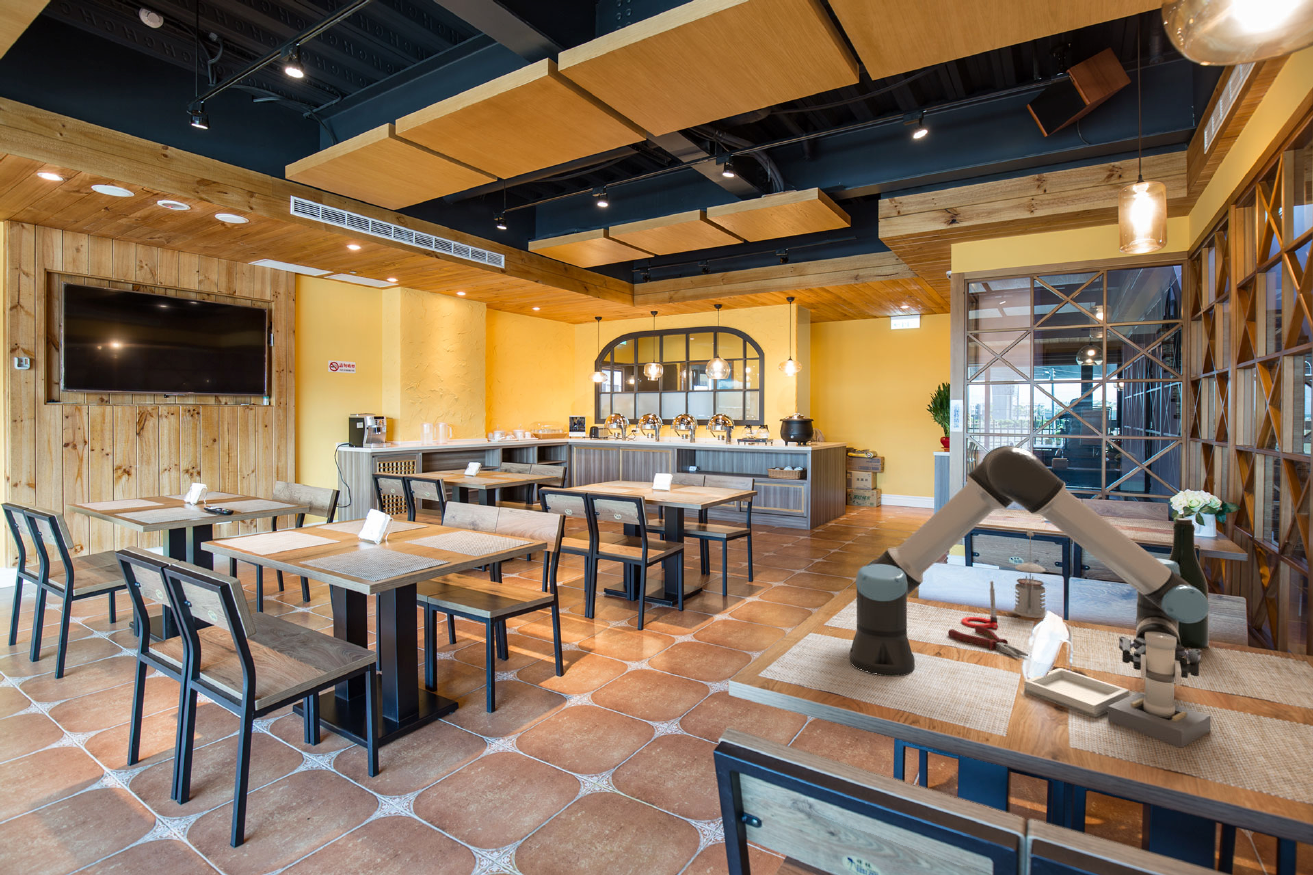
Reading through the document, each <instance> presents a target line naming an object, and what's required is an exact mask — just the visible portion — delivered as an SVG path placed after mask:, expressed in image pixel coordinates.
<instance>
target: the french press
mask: <svg viewBox="0 0 1313 875" xmlns="http://www.w3.org/2000/svg"><path fill="white" fill-rule="evenodd" d="M1026 536H1027V537H1029V562H1027V563H1026V562H1023V563H1019V564H1017V565H1016V566H1015V567H1014V568H1015V570H1016V571H1018V572H1022V573H1029V578H1028V576H1027V575H1025V578H1018V579H1016V582H1017V583H1016V584H1015V586H1014V588H1015V591H1014V593H1015V595H1014V596H1015V597H1014V598H1015V600H1014V602H1015V604H1014V608H1012V610H1011V612H1012V613H1013V614H1015V615H1018V616H1021V617H1027V618H1034V619H1043V618H1046V617H1045V614H1046V613H1047V612H1046V607H1045V606H1046V602H1045V601H1046V594H1045V593H1046V588H1045V587H1044V586H1043V585H1044V584H1045V583H1044V582H1043V581H1041V580H1038V579H1034V576H1031V575H1032V574H1040V573H1044V572H1045V571H1046V569H1045V568H1044V567H1042V566H1041V565H1039V564H1036V563H1032V562H1031V560H1032V552H1031V551H1032V546H1031V543H1032V540H1031V538H1032V537H1034V536H1035V534H1034V533H1033V532H1032V531H1027V533H1026Z"/></svg>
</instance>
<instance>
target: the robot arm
mask: <svg viewBox="0 0 1313 875" xmlns="http://www.w3.org/2000/svg"><path fill="white" fill-rule="evenodd" d="M966 480H967V482H966V484H965V486H964V487H962V488H961V489H960V490H959V491H958V492H957V493H956V494H955V495H953V496H952V497H951V499H950V500H948V501H947V502H946V503H945V504H944V505H943V506H942V507H940V508H939V509H938V510H937V511H936V512H935V514H933V515H932V516H931V517H930V518H929V519H928V520H926V521H925V523H924V524H922V525H921V526H920V527H919V528H918V529H917V530H916V531H915V532H914V533H912V534H911V535H910V536H909V537H908V538H907V539H906V540H904V542H903V543H902V544H901V545H899V546H898V547H896V548H894V547H892V548H891V547H889V548H887V549H886V550H885V551H884V552H883V553H882V554H881V555H879V557H877V558H876V559H874V560H872V561H870V562H869V563H868V564H867V565H864V566H862V567H860V568H859V569H858V570H857V572H856V579H855V586H856V632H855V634H854V637H853V640H852V643H851V647H850V649H849V659H850V661H849V663H850V662H851V663H852V664H853V665H854V666H855V667H857V668H859V669H862V670H864V671H868V672H870V673H869V674H872V673H877V674H881V675H880V676H884V675H899V676H905V675H908V674H907V673H909V674H910V672H911V673H913V672H914V671H915V668H916V666H915V656H914V654H913V652H912V648H911V645H910V642H909V638H908V633H907V632H908V630H907V629H908V615H907V614H908V597H909V595H910V594H911V593H912V592H913V591H914V590H915V589H917V588H918V587H919V586H920V585H921V584H922V583H923V582H924V580H923V579H924V573H925V572H926V571H928V570H929V568H931V566H933V565H934V564H935V563H937V561H938V560H940V558H942V557H943V556H944V555H945V554H946V553H948V552H949V550H951V549H952V548H953V547H954V546H955V545H956V544H958V543H959V542H960V541H961V540H962V539H964V537H965V536H967V535H968V534H969V533H970V532H971V531H972V530H973V529H974V528H976V527H977V525H978V524H980V523H981V522H982V521H984V519H985V518H987V517H988V516H989V515H990V514H992V512H994V511H995V510H1006V509H1007V508H1008V507H1009V506H1010V505H1012V504H1013V503H1016V504H1018V505H1019V506H1020V507H1022V508H1024V509H1025V510H1026V511H1028V512H1029V513H1030V514H1032V515H1040V516H1042V517H1043V518H1044V519H1045V520H1047V521H1048V522H1049V523H1051V524H1052V525H1053V526H1054V527H1056V528H1057V529H1058V530H1059V531H1061V532H1062V533H1063V534H1065V535H1066V536H1067V537H1068V538H1070V539H1071V540H1072V541H1073V542H1074V543H1076V544H1077V545H1079V546H1080V547H1081V548H1082V549H1084V550H1085V551H1086V552H1088V554H1090V555H1092V556H1093V557H1094V558H1095V559H1096V560H1098V561H1099V562H1100V563H1102V565H1104V566H1105V567H1106V568H1108V569H1109V570H1111V571H1112V572H1113V573H1114V574H1116V575H1117V576H1118V577H1120V578H1121V579H1122V580H1123V581H1125V582H1126V583H1127V584H1128V585H1130V587H1132V588H1134V589H1135V590H1136V593H1137V594H1136V595H1137V596H1136V600H1137V602H1136V616H1135V626H1136V627H1135V628H1136V632H1135V633H1136V636H1135V638H1134V639H1133V640H1131V638H1127V637H1125V636H1122V635H1121V636H1119V638H1118V648H1119V650H1121V652H1122V657H1121V658H1122V659H1121V661H1122V663H1124V664H1131V663H1132V664H1133V666H1132V667H1133V669H1134V670H1136V671H1140V679H1142V680H1145V679H1146V643H1145V632H1161V633H1166V634H1170V635H1172V636H1175V637H1176V638H1177V644H1176V649H1175V682H1174V685H1175V686H1177V687H1181V686H1182V678H1184V679H1188V678H1189V674H1190V675H1191V676H1193V677H1199V676H1200V664H1201V658H1202V656H1201V654H1202V650H1200V649H1194V648H1192V649H1191V648H1187V649H1186V648H1184V647H1183V646H1181V643H1180V637H1179V632H1178V621H1179V622H1183V623H1195V622H1198V621H1200V620H1202V619H1204V617H1206V615H1207V614H1208V612H1210V601H1209V602H1208V600H1207V598H1206V597H1205V595H1204V594H1203V593H1202V592H1201V591H1199V590H1198V589H1197V588H1195V587H1193V586H1191V585H1190V584H1189V583H1187V582H1186V581H1185V580H1183V579H1182V578H1181V577H1180V576H1181V574H1180V570H1179V565H1178V564H1177V563H1176V562H1174V561H1171V560H1169V559H1165V558H1156V557H1154V556H1153V555H1152V554H1151V553H1149V551H1147V550H1145V548H1143V547H1141V545H1139V544H1137V543H1136V542H1135V541H1134V540H1132V539H1131V538H1130V537H1128V536H1127V535H1126V534H1125V533H1124V532H1122V531H1121V530H1119V529H1118V528H1117V527H1115V526H1114V525H1113V524H1111V523H1110V522H1109V521H1108V520H1106V519H1105V518H1103V517H1102V516H1101V515H1100V514H1098V513H1097V512H1096V511H1095V510H1093V509H1092V508H1091V507H1089V506H1088V505H1087V504H1085V503H1084V502H1083V501H1081V500H1080V499H1079V498H1077V496H1075V495H1074V494H1073V493H1071V492H1070V491H1068V490H1067V488H1066V487H1067V486H1066V483H1065V481H1064V480H1062V479H1060V478H1059V477H1058V476H1057V475H1055V474H1054V472H1052V471H1051V470H1050V469H1049V468H1048V467H1047V466H1046V465H1045V464H1044V463H1043V462H1042V460H1040V459H1039V458H1038V457H1037V456H1036V455H1035V454H1034V453H1032V452H1031V451H1028V450H1026V449H1024V448H1022V447H1019V446H1016V445H1001V446H998V447H995V448H993V449H990V451H989V452H987V453H986V454H985V455H984V457H983V459H982V461H981V462H980V463H979V464H978V465H977V466H976V467H975V468H973V469H972V470H971V472H969V473H968V474H967V476H966ZM1132 649H1135V650H1134V652H1133V653H1132V652H1131V651H1132ZM851 663H850V664H851ZM852 664H851V665H852ZM853 665H852V666H853ZM854 666H853V667H854ZM855 667H854V668H855ZM857 668H856V669H857ZM859 669H858V670H859ZM862 670H861V671H862ZM864 671H863V672H864ZM868 672H867V673H868ZM877 674H876V675H877ZM904 674H905V675H904Z"/></svg>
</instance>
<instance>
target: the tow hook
mask: <svg viewBox="0 0 1313 875" xmlns="http://www.w3.org/2000/svg"><path fill="white" fill-rule="evenodd" d="M989 584H990V585H989V586H990V588H989V597H990V598H989V599H990V600H989V601H990V602H989V603H990V607H989V613H990V616H989V618H986V617H979V616H968V617H967V616H966V617H963V618H961V619H960V620H961V624H962V625H964V626H965V627H966V626H967V627H970V628H974V629H975V627H976V626H981V627H984V628H987V629H988V628H991V629H992V628H993V629H994V630H997V629H999V626H998V617H997V608H996V596H995V595H996V593H995V588H994V581H993V580H991V581H990V582H989ZM974 622H983V623H974Z"/></svg>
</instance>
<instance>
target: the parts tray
mask: <svg viewBox="0 0 1313 875" xmlns="http://www.w3.org/2000/svg"><path fill="white" fill-rule="evenodd" d="M1048 672H1049V673H1048V675H1047V676H1045V677H1042V676H1039V675H1036V676H1033V677H1031V678H1028V679H1025V680H1024V682H1023V683H1024V688H1023V690H1024V693H1025V694H1029V695H1031V696H1034V697H1037V698H1040V699H1042V700H1045V701H1048V702H1051V703H1053V704H1055V705H1058V706H1062V707H1064V708H1066V709H1070V710H1071V711H1074V712H1078V713H1080V714H1082V715H1085V716H1088V717H1090V718H1093V719H1096V718H1097V717H1100V716H1101V715H1104V714H1106V713H1108V706H1109V705H1111V704H1113V703H1116V702H1118V701H1120V700H1122V699H1124V698H1127V697H1129V696H1130V689H1127V688H1124V687H1121V686H1118V685H1115V684H1112V683H1108V682H1105V681H1102V680H1099V679H1096V678H1093V677H1090V676H1087V675H1084V674H1080V673H1077V672H1074V671H1071V670H1069V669H1066V668H1065V669H1064V668H1062V667H1058V668H1056V669H1053V670H1050V671H1048Z"/></svg>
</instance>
